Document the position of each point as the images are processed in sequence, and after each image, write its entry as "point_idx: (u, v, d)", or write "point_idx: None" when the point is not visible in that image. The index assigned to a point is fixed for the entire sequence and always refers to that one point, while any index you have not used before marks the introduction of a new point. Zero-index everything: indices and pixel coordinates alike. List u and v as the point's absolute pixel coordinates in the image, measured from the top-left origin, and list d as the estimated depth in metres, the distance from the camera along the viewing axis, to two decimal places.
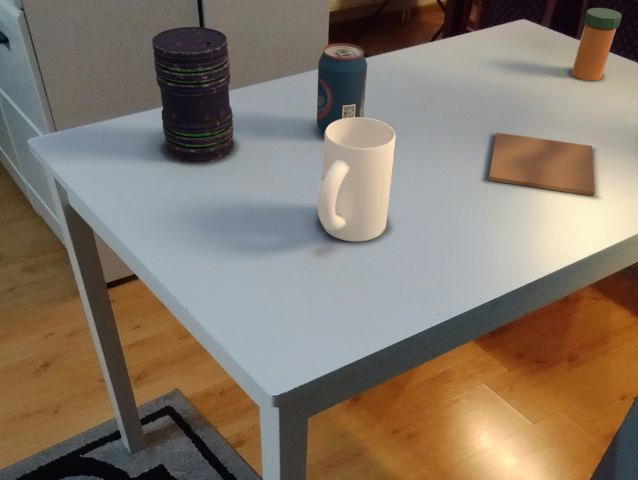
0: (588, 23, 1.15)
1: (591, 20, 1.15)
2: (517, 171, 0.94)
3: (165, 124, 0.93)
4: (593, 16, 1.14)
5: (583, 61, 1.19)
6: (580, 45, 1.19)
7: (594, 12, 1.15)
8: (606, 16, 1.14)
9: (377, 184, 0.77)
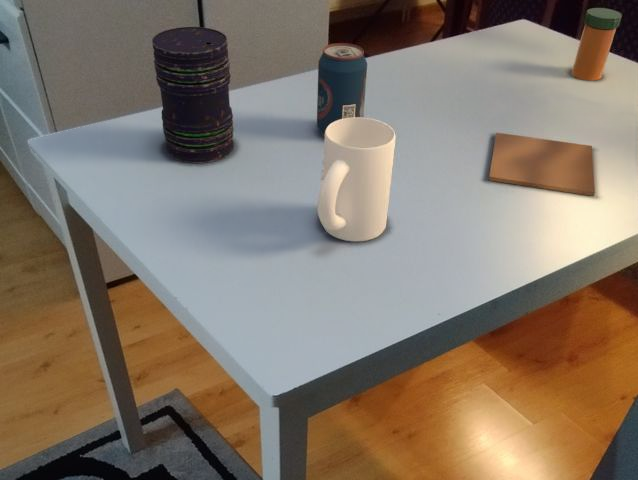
0: (588, 23, 1.15)
1: (591, 20, 1.15)
2: (517, 171, 0.94)
3: (165, 124, 0.93)
4: (593, 16, 1.14)
5: (583, 61, 1.19)
6: (580, 45, 1.19)
7: (594, 12, 1.15)
8: (606, 16, 1.14)
9: (377, 184, 0.77)
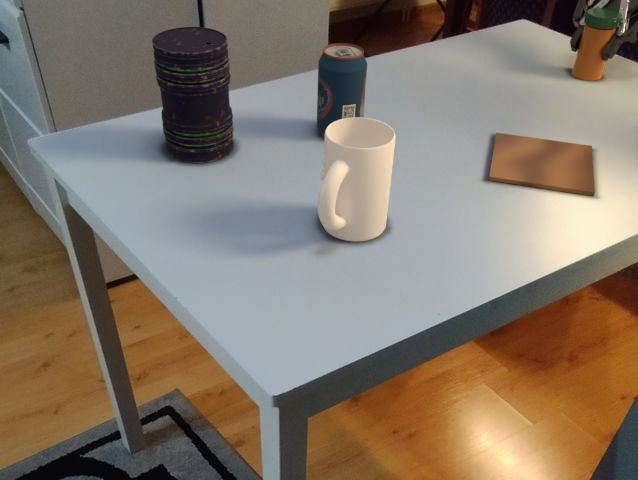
0: (588, 23, 1.15)
1: (591, 20, 1.15)
2: (517, 171, 0.94)
3: (165, 124, 0.93)
4: (593, 16, 1.14)
5: (583, 61, 1.19)
6: (580, 45, 1.19)
7: (594, 12, 1.15)
8: (606, 16, 1.14)
9: (377, 184, 0.77)
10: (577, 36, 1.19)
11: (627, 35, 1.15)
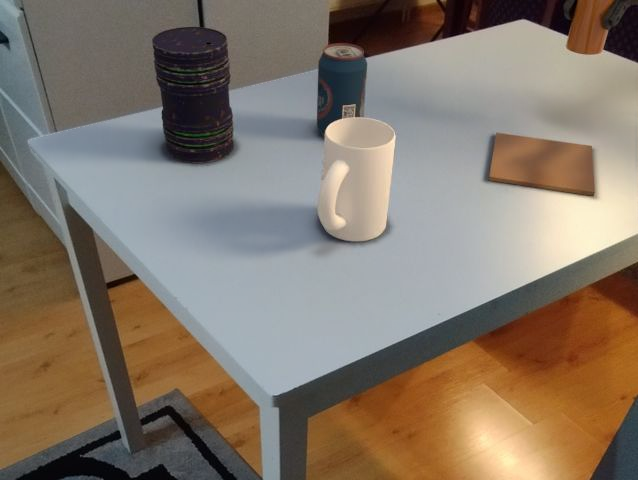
0: None
1: None
2: (517, 171, 0.94)
3: (165, 124, 0.93)
4: None
5: (580, 30, 0.96)
6: (576, 11, 0.96)
7: None
8: None
9: (377, 184, 0.77)
10: None
11: None
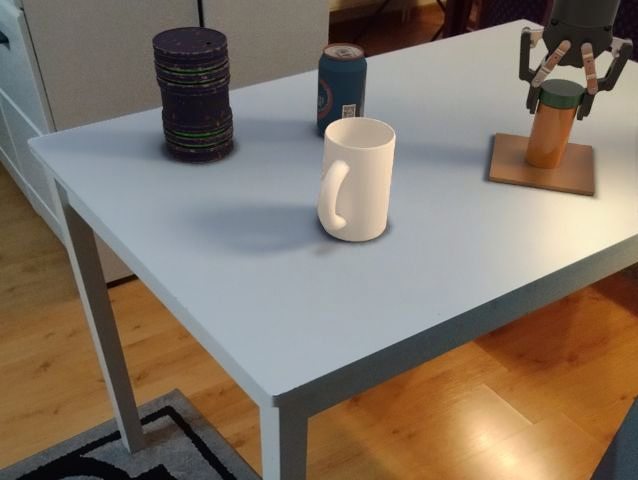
0: (542, 100, 0.90)
1: (545, 97, 0.89)
2: (517, 171, 0.94)
3: (165, 124, 0.93)
4: (548, 92, 0.89)
5: (538, 145, 0.94)
6: (534, 125, 0.93)
7: (550, 86, 0.90)
8: (564, 92, 0.89)
9: (377, 184, 0.77)
10: (534, 102, 0.91)
11: (602, 89, 0.88)
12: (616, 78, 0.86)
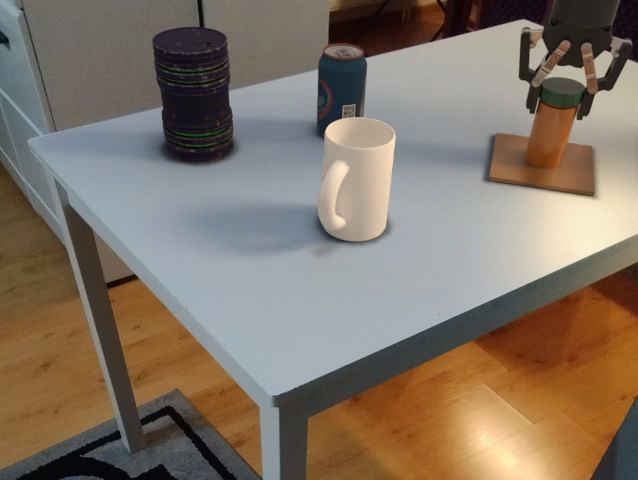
0: (573, 104, 0.89)
1: (577, 99, 0.89)
2: (517, 171, 0.94)
3: (165, 124, 0.93)
4: (579, 93, 0.88)
5: (538, 145, 0.94)
6: (534, 125, 0.93)
7: (564, 90, 0.89)
8: (576, 86, 0.90)
9: (377, 184, 0.77)
10: (534, 102, 0.91)
11: (602, 88, 0.88)
12: (616, 78, 0.86)
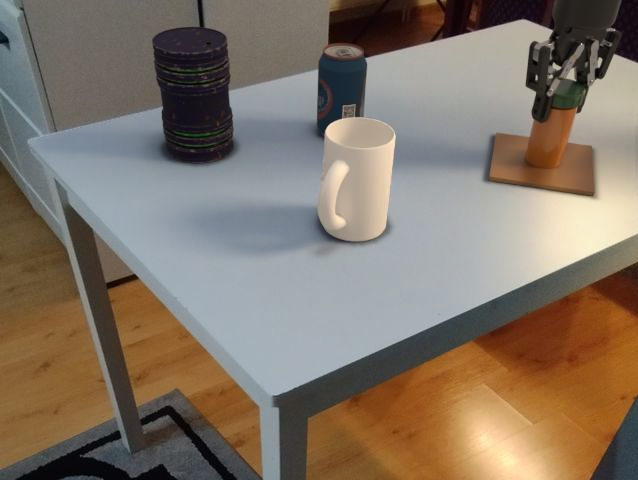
0: (582, 101, 0.90)
1: None
2: (517, 171, 0.94)
3: (165, 124, 0.93)
4: (585, 89, 0.89)
5: (538, 145, 0.94)
6: (533, 125, 0.93)
7: (573, 91, 0.88)
8: (571, 83, 0.90)
9: (377, 184, 0.77)
10: (548, 110, 0.89)
11: (595, 78, 0.90)
12: (608, 65, 0.89)
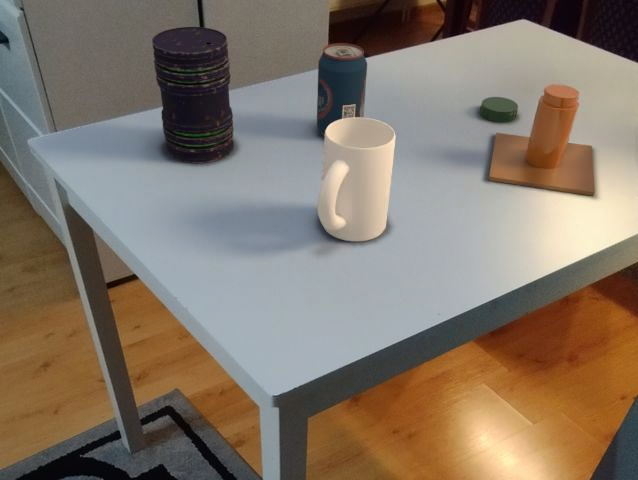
0: (515, 115, 1.08)
1: (516, 111, 1.08)
2: (517, 171, 0.94)
3: (165, 124, 0.93)
4: (517, 106, 1.08)
5: (538, 145, 0.94)
6: (534, 125, 0.93)
7: (507, 107, 1.07)
8: (507, 101, 1.09)
9: (377, 184, 0.77)
10: None
11: None
12: None
